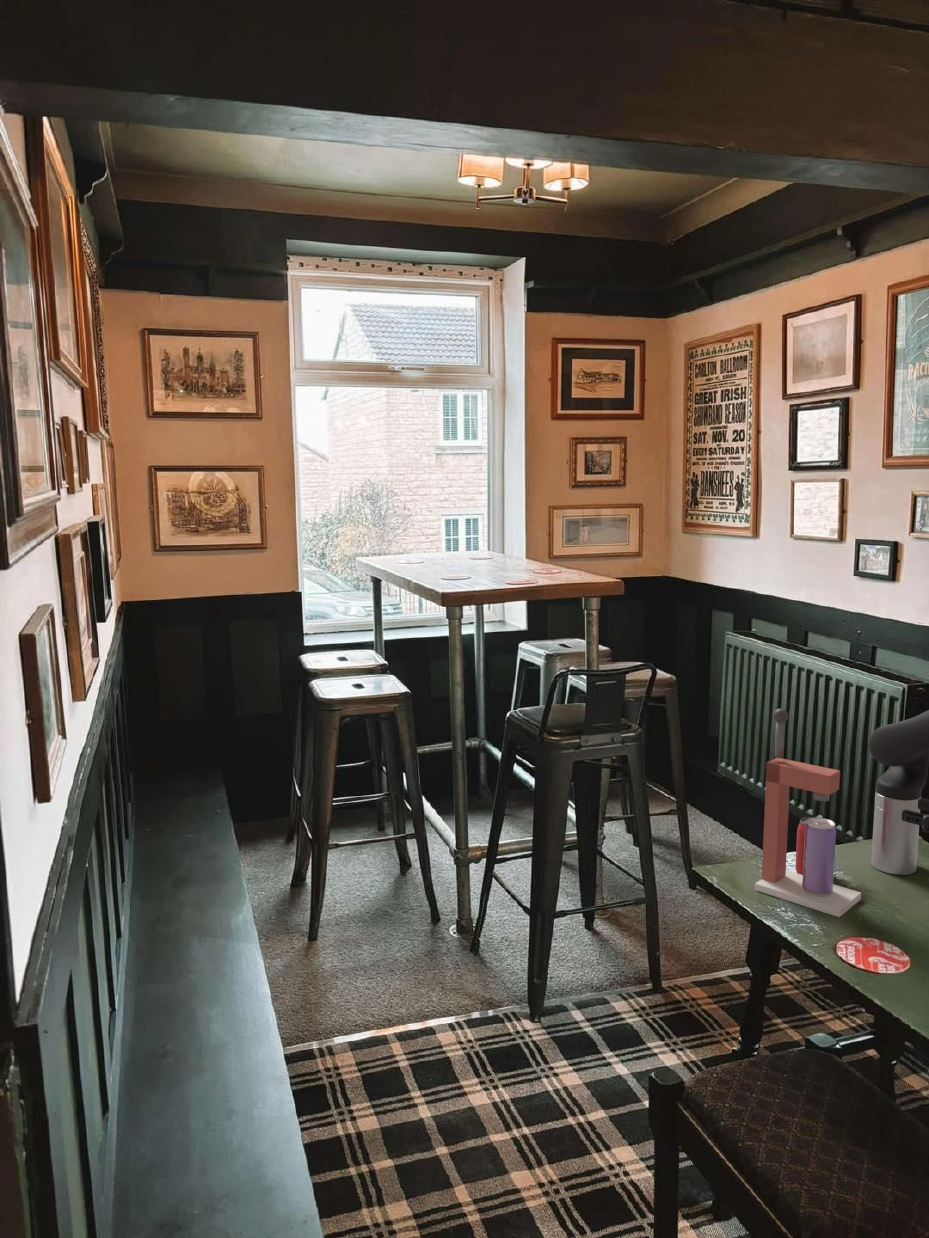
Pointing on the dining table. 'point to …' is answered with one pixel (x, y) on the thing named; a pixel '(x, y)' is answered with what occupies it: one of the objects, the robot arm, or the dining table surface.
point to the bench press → (776, 827)
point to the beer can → (800, 845)
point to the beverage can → (819, 856)
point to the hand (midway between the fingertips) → (910, 808)
